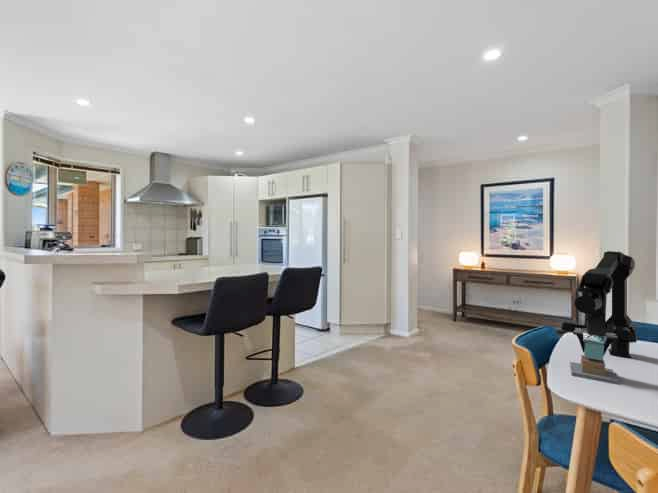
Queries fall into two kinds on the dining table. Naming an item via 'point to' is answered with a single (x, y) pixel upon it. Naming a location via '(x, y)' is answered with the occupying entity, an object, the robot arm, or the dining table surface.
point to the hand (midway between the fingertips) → (593, 353)
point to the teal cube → (593, 349)
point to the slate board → (578, 372)
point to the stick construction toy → (595, 336)
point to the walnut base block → (592, 366)
